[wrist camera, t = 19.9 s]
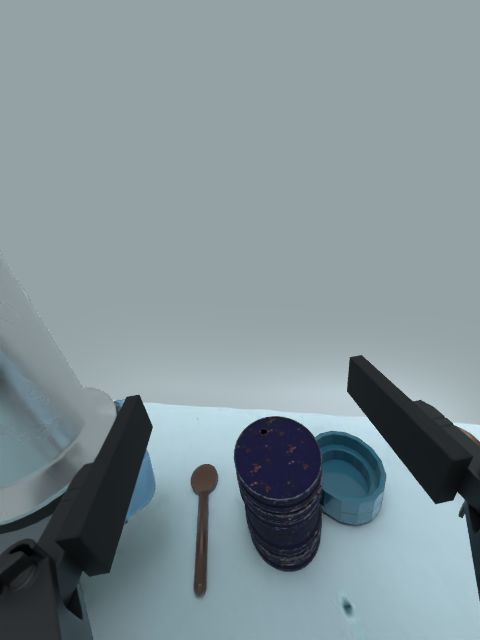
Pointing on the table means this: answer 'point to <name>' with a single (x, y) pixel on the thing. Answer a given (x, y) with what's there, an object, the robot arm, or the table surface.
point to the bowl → (350, 478)
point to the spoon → (202, 521)
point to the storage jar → (281, 490)
